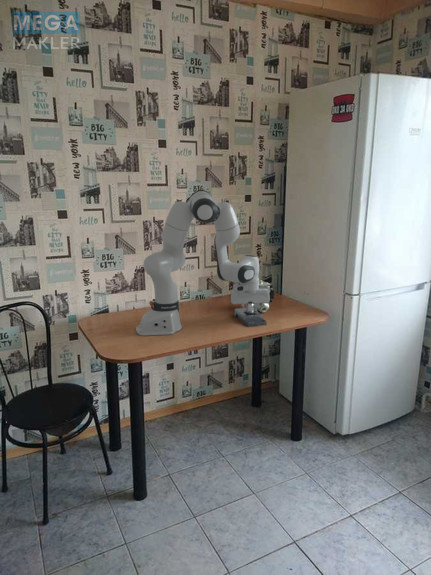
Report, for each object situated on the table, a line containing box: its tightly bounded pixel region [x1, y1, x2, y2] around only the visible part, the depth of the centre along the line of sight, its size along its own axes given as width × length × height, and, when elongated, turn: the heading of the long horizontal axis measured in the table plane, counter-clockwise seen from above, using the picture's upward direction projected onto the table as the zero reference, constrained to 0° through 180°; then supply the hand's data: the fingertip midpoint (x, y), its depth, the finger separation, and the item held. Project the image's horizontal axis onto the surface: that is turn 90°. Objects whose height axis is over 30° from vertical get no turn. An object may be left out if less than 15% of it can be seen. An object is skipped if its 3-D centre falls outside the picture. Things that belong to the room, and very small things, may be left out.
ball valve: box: [254, 279, 275, 313], centre depth 232 cm, size 18×8×18 cm, turn 22°
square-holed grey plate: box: [234, 307, 267, 328], centre depth 219 cm, size 10×20×4 cm, turn 17°
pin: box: [245, 301, 254, 315], centre depth 218 cm, size 5×5×9 cm
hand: (250, 311), depth 218 cm, fingers closed on pin, 4 cm apart
